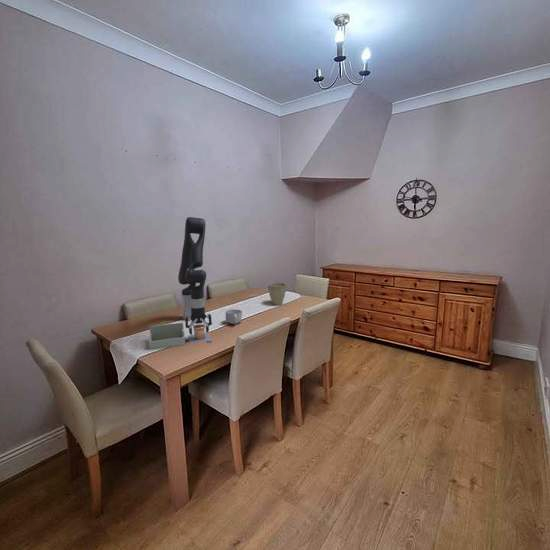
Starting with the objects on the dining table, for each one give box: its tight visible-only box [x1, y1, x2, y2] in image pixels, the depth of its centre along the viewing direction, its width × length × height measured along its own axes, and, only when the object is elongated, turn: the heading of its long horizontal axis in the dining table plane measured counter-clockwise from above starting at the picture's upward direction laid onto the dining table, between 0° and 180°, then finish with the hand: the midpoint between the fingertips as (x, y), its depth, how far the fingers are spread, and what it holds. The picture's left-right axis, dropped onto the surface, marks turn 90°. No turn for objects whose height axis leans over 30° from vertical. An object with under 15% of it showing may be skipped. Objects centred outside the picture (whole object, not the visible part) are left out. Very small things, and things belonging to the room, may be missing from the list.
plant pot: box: [267, 282, 287, 306], centre depth 241 cm, size 15×15×16 cm
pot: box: [192, 323, 206, 340], centre depth 171 cm, size 6×6×7 cm
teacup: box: [224, 308, 243, 325], centre depth 198 cm, size 14×11×8 cm
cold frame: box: [148, 322, 186, 350], centre depth 166 cm, size 14×18×9 cm
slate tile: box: [187, 332, 213, 344], centre depth 172 cm, size 12×12×1 cm
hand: (199, 333), depth 171 cm, fingers open, 8 cm apart
